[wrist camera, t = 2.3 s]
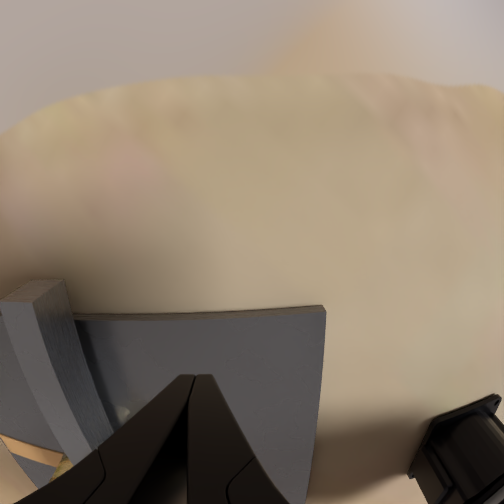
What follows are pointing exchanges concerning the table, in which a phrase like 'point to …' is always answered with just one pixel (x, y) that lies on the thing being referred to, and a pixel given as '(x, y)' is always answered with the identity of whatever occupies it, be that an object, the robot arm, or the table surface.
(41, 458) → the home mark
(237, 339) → the plate
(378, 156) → the table surface
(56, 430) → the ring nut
